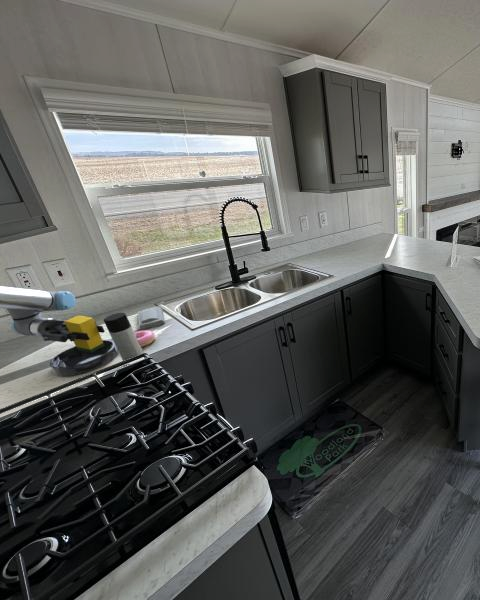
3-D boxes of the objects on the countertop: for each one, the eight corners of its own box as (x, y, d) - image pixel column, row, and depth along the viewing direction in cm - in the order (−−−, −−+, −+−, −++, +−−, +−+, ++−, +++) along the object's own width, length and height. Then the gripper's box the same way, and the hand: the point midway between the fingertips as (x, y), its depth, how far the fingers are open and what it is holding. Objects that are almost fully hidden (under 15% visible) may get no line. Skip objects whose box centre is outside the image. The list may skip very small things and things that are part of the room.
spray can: (149, 356, 131) (130, 312, 122) (134, 367, 125) (113, 321, 116) (135, 355, 132) (115, 311, 123) (120, 365, 126) (97, 320, 117)
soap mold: (162, 308, 170) (160, 302, 169) (165, 323, 156) (162, 316, 154) (138, 314, 165) (135, 308, 164) (138, 330, 150) (135, 323, 149)
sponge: (77, 349, 129) (64, 321, 123) (90, 342, 133) (78, 315, 128) (91, 352, 128) (79, 324, 122) (104, 345, 132) (93, 317, 126)
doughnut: (118, 350, 136) (114, 342, 134) (138, 336, 146) (135, 328, 144) (143, 350, 135) (140, 341, 133) (162, 336, 145) (159, 328, 143)
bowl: (48, 383, 117) (42, 374, 116) (62, 357, 132) (57, 349, 130) (115, 365, 126) (111, 356, 125) (121, 342, 141) (117, 334, 139)
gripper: (78, 325, 141) (121, 329, 136) (27, 348, 125) (74, 354, 120) (70, 309, 137) (114, 313, 132) (17, 331, 122) (64, 336, 117)
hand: (95, 332), depth 126 cm, fingers closed on sponge, 5 cm apart
